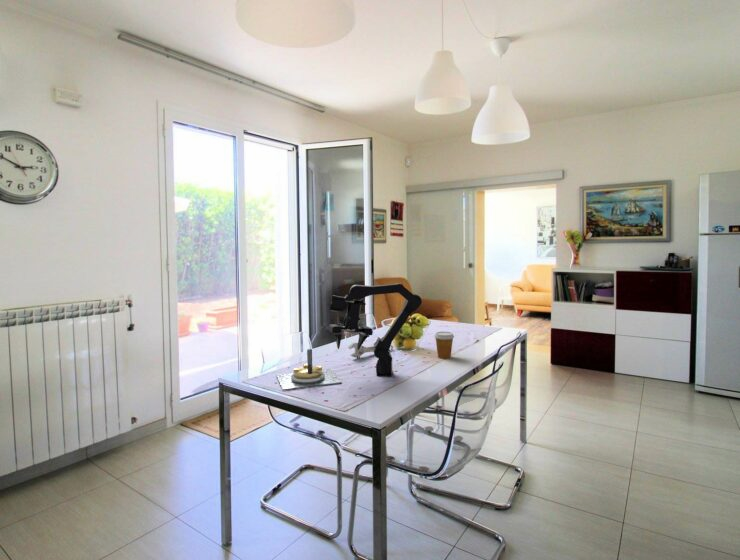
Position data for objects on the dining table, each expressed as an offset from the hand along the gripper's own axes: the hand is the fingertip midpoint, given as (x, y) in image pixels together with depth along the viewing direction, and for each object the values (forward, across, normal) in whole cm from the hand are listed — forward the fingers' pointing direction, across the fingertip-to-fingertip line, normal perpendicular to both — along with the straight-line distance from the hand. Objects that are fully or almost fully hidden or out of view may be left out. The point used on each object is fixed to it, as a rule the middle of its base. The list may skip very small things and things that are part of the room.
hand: (348, 349), depth 186 cm
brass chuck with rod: (+12, +16, -1) cm, 20 cm away
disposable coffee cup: (+4, -55, -6) cm, 55 cm away
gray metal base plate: (+14, +16, -1) cm, 21 cm away
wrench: (+10, -25, -27) cm, 38 cm away
